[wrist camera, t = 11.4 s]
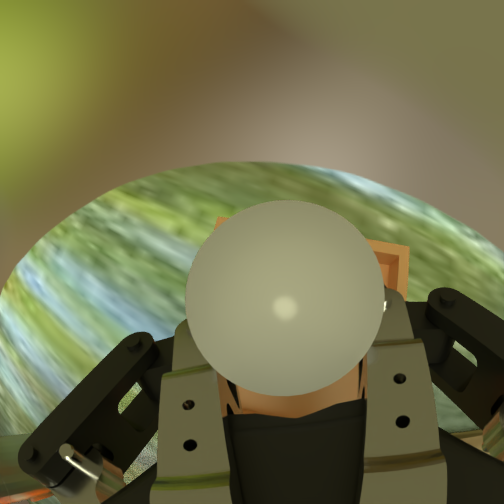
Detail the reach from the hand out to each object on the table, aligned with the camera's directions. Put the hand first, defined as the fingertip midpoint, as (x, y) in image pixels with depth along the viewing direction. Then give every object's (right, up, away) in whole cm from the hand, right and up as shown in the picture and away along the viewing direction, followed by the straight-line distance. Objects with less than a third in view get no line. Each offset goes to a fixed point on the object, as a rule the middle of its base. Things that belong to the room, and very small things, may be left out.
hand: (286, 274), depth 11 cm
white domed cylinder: (+1, -3, +4) cm, 5 cm away
